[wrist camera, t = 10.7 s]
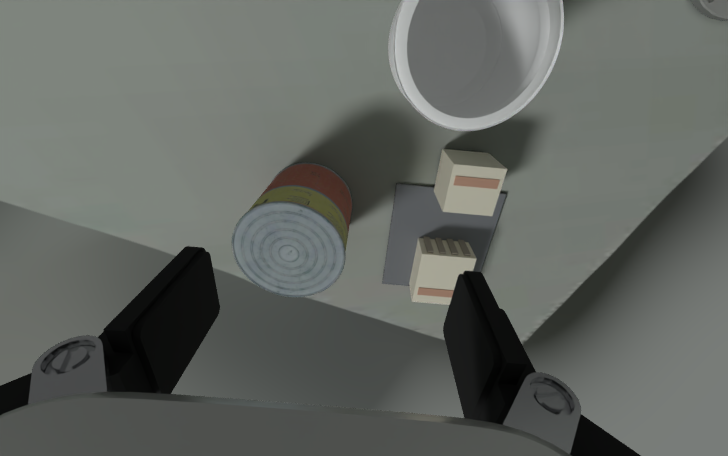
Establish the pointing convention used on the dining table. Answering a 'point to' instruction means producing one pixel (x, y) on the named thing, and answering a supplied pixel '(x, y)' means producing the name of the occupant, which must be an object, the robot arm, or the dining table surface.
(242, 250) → the canned food
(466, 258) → the cream striped box
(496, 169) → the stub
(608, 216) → the dining table surface
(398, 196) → the mat
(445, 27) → the jar
